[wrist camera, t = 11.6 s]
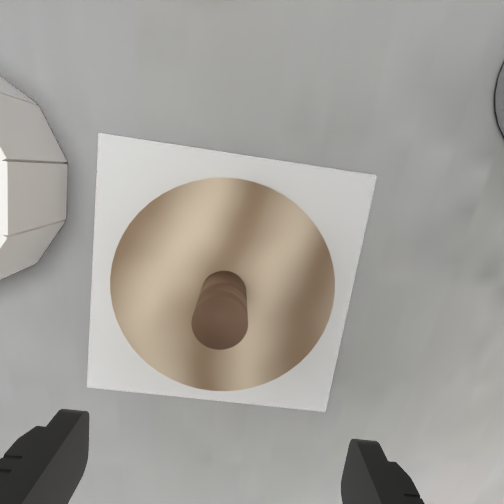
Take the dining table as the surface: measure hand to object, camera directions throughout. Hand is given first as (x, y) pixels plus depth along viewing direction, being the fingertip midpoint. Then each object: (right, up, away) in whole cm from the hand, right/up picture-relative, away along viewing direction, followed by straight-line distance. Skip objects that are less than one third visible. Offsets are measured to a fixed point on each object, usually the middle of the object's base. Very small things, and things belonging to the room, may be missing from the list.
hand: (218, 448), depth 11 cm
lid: (-1, +3, +14) cm, 14 cm away
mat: (-1, +4, +14) cm, 15 cm away
